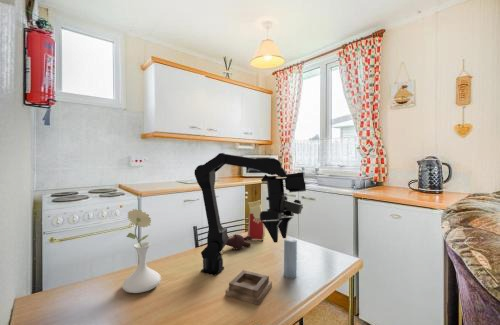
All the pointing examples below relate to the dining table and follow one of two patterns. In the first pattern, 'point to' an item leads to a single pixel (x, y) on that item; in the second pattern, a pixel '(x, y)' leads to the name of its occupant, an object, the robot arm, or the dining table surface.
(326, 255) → the dining table surface
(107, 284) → the dining table surface
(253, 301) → the socket base
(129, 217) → the flower in vase
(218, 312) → the dining table surface
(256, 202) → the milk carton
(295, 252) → the blue-gray capsule
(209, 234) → the robot arm
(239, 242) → the dark red lobed figurine
